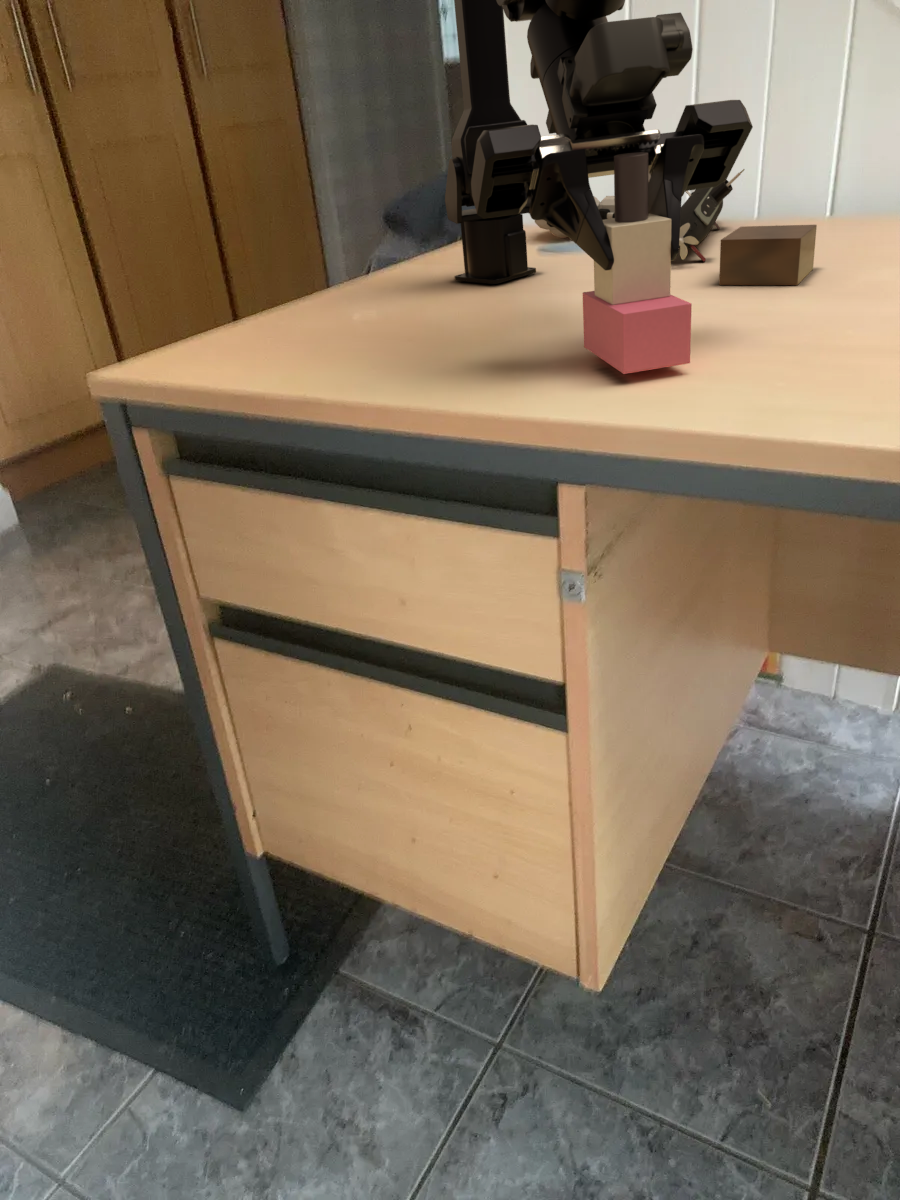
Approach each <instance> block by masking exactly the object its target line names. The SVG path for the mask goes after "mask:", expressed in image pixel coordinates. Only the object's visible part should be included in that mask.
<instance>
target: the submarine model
mask: <svg viewBox="0 0 900 1200" xmlns="http://www.w3.org/2000/svg"><path fill="white" fill-rule="evenodd" d="M744 171H745V168H743V169H742V170H740V171H739V172H738V173H736V175H734V176H733V177H732V178H731V179H730V180H729V179H726V181H724V182H723V183H721V184H720V185H718V186H717V187H711V188H704V189H697V190H693V191H692V192H689V191H685V193H686V195H687V196H688V198H687V199H686V201H685V202H683V204H681V219H680V238H679V256H680V259H681V260H683V261H684V260H686V258H687V255H688V254H689V251H688V250H689V249H691V250H692V251H693V252H694V253H695V254H696V255H697V256H698V257H699V259H700V260H701V261H702V262H706V260H707V258H706V257H705V256H704V255H703V254H702V253H701V252H700V250H699V249H698V248H697V247H696V246H697V245H699V244H701V243H702V242H703V241H704V240H705V239H706V238H707V236H708V235H709V234H710V232H711V230H712V228H713V226H714V227H716V228H717V230H720V229H721V226H719V225H718V224H717V222H716V221H717V220H718V218H719V216H720V214H721V212H722V211H723V207H724V199H725V198H727V196H729V195H730V193H731V192H733V190H734V188H733V185H732V184H733V183H734V182H735V181H736V180H737V179H738V178H739V177H740V176H741V175H742V173H743V172H744Z"/></svg>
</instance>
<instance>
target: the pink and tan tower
mask: <svg viewBox="0 0 900 1200" xmlns="http://www.w3.org/2000/svg"><path fill="white" fill-rule="evenodd" d="M613 189H614V192H613V193H614V195H613V196H614V202H615V218H612V219H605V220H603V223H604V226H605V228H606V231H607V234H608V237H609V240H610V244H611V248H612V252H613V256H614V263H613V266H612V268H611V270H604V269H603V268H602V267H601V266H600V265H599V264H597V263H596V262H595V261H594V260H593V278H594V279H593V284H594V287H593V288H594V290H589V291H584V292H582V314H583V315H582V320H583V321H582V322H583V347H584V348H585V349H586V350H587V351H589V352H591V353H592V354H594V355H595V356H596V357H598V358H599V359H601V360H602V361H604V362H605V363H606V364H608V365H610V366H611V367H613V368H614V369H616V370H617V371H619V372H620V373H621V374H623V375H626V374H633V373H639V372H644V371H649V370H650V371H651V370H657V369H662V368H669V367H675V366H681V365H687V364H690V363H691V345H692V341H691V339H692V303H691V302H689V301H687V300H684V299H682V298H680V297H678V296H675V295H673V294H671V278H672V277H671V274H672V272H671V271H672V261H671V219H670V218H666V217H662V216H658V215H654V214H651V213H648V153H647V152H636V153H626V154H619V155H615V156H614V175H613Z"/></svg>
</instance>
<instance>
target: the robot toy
mask: <svg viewBox="0 0 900 1200" xmlns="http://www.w3.org/2000/svg"><path fill="white" fill-rule="evenodd" d="M594 199H595V202H596V204H597V207H598V210H599V212H600V215H601V218H602V220H605V219H612V218H615V202H614V195H606V196H605V197H603V199H602V200H601V201H600V200H599V199H598V198H597V197H596V196H594ZM534 223H535V224H536V225H537V227H539V229H543V230H547V231H549V232H550V234H551V235H552V236H554V237H556V238H561V239H566V238H568V237H567V236H566V235H564V234H563V233H562V232H560V231H559V230H557V229H556V228H555V227H553V226H552V225H550V224H549V223H548V222H546V221H545V220H534Z"/></svg>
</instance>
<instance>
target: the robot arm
mask: <svg viewBox="0 0 900 1200" xmlns="http://www.w3.org/2000/svg"><path fill="white" fill-rule="evenodd" d="M453 1H454V2H453V4H454V12H455V13H454V15H455V26H456V35H457V36H456V37H457V46H458V56H459V67H460V77H461V88H462V99H463V111H462V114H461V117H460V119H459V121H458V123H457V126H456V127H455V130H454V134H453V136H452V138H451V155H452V157H451V158H449V160H448V166H447V176H446V184H445V185H446V186H445V194H444V202H445V208H446V215H447V220H448V221H450V222H453V223H454V224H456V225H459V224H460V233H461V243H462V244H461V245H462V255H463V267H464V272H463V273H460V274H456V275H454V281H458V282H467V283H469V282H470V283H477V284H478V283H479V284H488V285H497V284H501V283H505V282H508V281H511V280H515V279H518V278H522V277H525V276H529V275H532V274H536V273H537V268H536V267H531V266H530V267H529V265H528V264H529V263H528V250H527V249H528V248H527V247H528V246H527V232H526V230H525V229H524V215H525V214H529V216H530V218H531V219H532V220H534V221H535V220H545V221H546V222H548V223H549V224H550V225H552V226H553V227H555V228H556V229H557V230H559V231H560V232H562V233H563V234H564V235H566V236H567V237H566V238H568V239H569V240H571V242H573V243H574V244H575V245H577V246H578V247H579V248H580V249H581V250H582V251H583V252H584V253H585V254H586V255H588V256H589V257H590V258H591V259H592V260H593V262H594V261H595V262H596V263H597V264H599V265H600V266H601V267H602V268H603V269H604V270H611V268H612V266H613V263H614V256H613V252H612V248H611V244H610V240H609V237H608V234H607V231H606V228H605V226H604V223H603V220H602V218H601V215H600V212H599V210H598V207H597V204H596V202H595V199H594V197H595V195H594V194H593V191H592V188H591V185H590V178H591V179H592V178H598V177H606V176H614V156H615V155H619V154H626V153H636V152H647V153H648V213H651V214H654V215H658V216H662V217H666V218H670V219H671V262H673V261H675V260H676V259H677V256H678V254H679V253H680V249H679V238H680V219H681V207H682V200H683V199H682V198H683V196H684V195H685V193H686V192H685V191H695V190H697V189H704V188H711V187H717V186H718V185H720V184H721V183H723V182H724V181H726V180H728V178H729V175H730V173H731V171H732V170H733V168H734V166H735V163H736V162H737V160H738V157H739V155H740V153H741V152H742V149H743V148H744V145H745V143H746V142H747V140H748V138H749V135H750V134H751V132H752V129H753V124H752V123H753V122H752V121H751V118H750V115H749V113H748V110H747V108H746V106H745V104H743V102H742V100H741V99H728V100H727V99H726V100H719V101H718V100H717V101H711V102H703V103H694V104H687V105H685V106H684V109H683V110H682V111H683V112H682V113H681V115H680V119H679V120H678V124H677V126H676V128H675V131H671V132H662V133H661V130H660V129H649V130H646V129H645V125H644V124H645V121H646V120H652V119H653V117H654V114H655V112H656V108H657V102H656V98H655V96H654V93H653V92H654V91H655V89H656V88H657V87H658V85H660V83H661V82H662V80H663V79H667V78H669V77H675V76H679V75H680V74H681V73H682V72H683V70H684V69H685V67H686V66H687V65H688V64H689V62H690V61H691V60H692V56H693V51H694V49H693V43H692V36H691V31H690V28H689V26H688V24H687V22H686V20H685V18H684V16H683V14H682V12H681V11H680V12H671V13H662V14H657V15H656V16H648V17H639V18H631V19H622V20H611V21H608V18H607V17H608V16H610V15H612V14H613V13H616V12H617V11H622V10H623V8H624V6H625V3H626V0H453ZM505 17H506V18H507V19H508V20H509V21H510V22H512V23H513V22H515V23H518V22H524V21H526V22H527V21H530V22H529V23H528V27H527V33H526V39H527V44H528V48H529V50H530V54H531V59H530V65H529V66H530V67H529V68H530V69H529V71H530V77H531V79H533V80H534V79H535V80H536V79H538V80H539V83H540V87H541V89H542V94H543V96H544V99H545V103H546V106H547V109H548V112H547V116H546V120H545V125H546V128H547V132H548V134H549V135H544V136H542V134H541V132H540V128H539V125H538V124H528V123H527V121H526V120H525V119H521V117H520V116H519V114H518V113H517V111H516V110H515V108H514V107H513V105H512V103H511V96H510V83H509V69H508V57H507V41H506V29H505ZM463 207H467V208H470V207H474V208H471V209H463ZM523 214H524V215H523Z"/></svg>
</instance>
